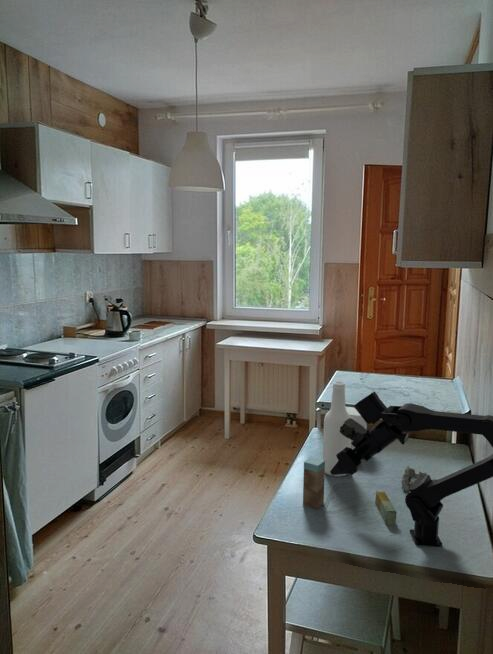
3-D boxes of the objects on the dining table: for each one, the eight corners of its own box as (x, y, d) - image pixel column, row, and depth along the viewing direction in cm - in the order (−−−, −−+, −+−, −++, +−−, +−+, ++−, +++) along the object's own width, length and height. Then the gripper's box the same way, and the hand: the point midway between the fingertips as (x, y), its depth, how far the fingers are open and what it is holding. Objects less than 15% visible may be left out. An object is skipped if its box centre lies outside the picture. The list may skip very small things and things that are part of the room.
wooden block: (323, 503, 146) (325, 460, 144) (316, 509, 143) (318, 465, 141) (309, 498, 149) (311, 456, 147) (302, 505, 145) (304, 461, 143)
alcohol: (334, 463, 173) (336, 377, 168) (355, 472, 167) (358, 383, 162) (316, 470, 167) (319, 382, 163) (338, 480, 161) (341, 388, 156)
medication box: (396, 526, 135) (397, 512, 134) (385, 526, 135) (387, 512, 134) (383, 503, 147) (384, 490, 146) (374, 503, 147) (375, 490, 146)
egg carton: (406, 476, 164) (407, 464, 164) (430, 482, 160) (431, 469, 160) (398, 489, 155) (399, 477, 154) (424, 496, 151) (424, 483, 151)
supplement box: (341, 444, 190) (342, 405, 188) (366, 447, 187) (367, 408, 185) (338, 453, 181) (339, 413, 179) (363, 457, 179) (365, 416, 176)
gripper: (372, 403, 142) (334, 432, 150) (345, 422, 127) (304, 453, 134) (398, 436, 139) (358, 464, 147) (374, 459, 123) (330, 489, 131)
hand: (338, 467), depth 140 cm, fingers open, 9 cm apart
